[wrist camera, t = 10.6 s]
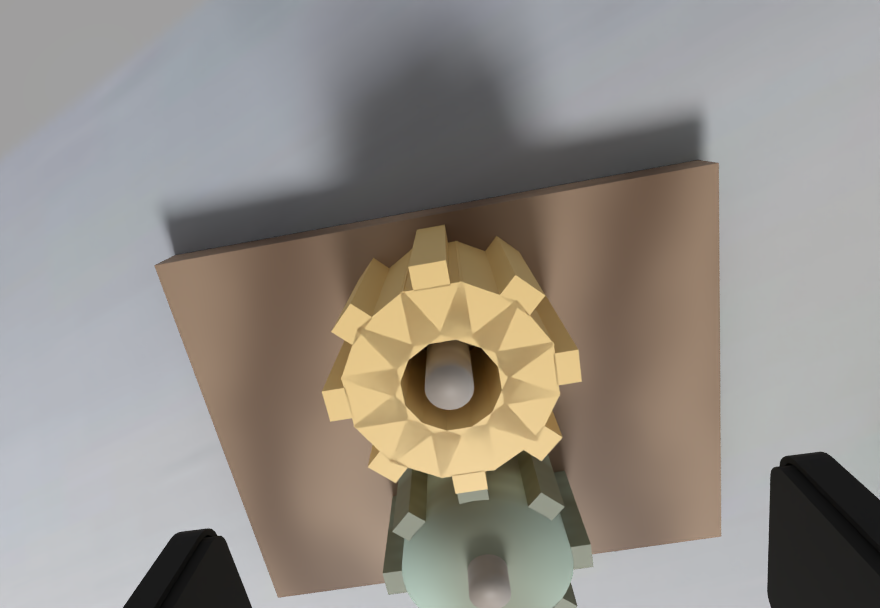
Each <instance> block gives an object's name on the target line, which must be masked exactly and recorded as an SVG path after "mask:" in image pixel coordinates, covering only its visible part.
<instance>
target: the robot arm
mask: <svg viewBox="0 0 880 608" xmlns="http://www.w3.org/2000/svg"><path fill="white" fill-rule="evenodd" d="M767 592H768V598H769V602H770V605H771V608H880V500H879V499H878V498H877V497H876V496H875V495H874V494H873V493H871V492H870V491H869V490H868V489H867V488H866V487H865V486H864V485H863V484H861V483H860V482H859V481H858V480H857V479H856V478H855V477H854V476H853V475H851V474H850V473H849V472H848V471H847V470H846V469H845V468H844V467H843V466H841V465H840V464H839V463H838V462H837V461H836V460H835V459H834V458H832V457H831V456H830V455H828V454H827V453H824V452H815V453H807V454H799V455H791V456H785V457H783V458H782V459H781V461H780V467H774V468H773V469H772V470H771V477H770V514H769V550H768V587H767ZM123 608H252V606H251V604H250V601H249V599H248V596H247V594H246V591H245V589H244V586H243V583H242V581H241V578H240V576H239V573H238V571H237V568H236V566H235V563H234V560H233V558H232V555H231V553H230V550H229V548H228V545H227V543H226V541H225V539H224V538H223V537H222V536H217V534H216V532H215V531H214V530H212V529H200V530H192V531H184V532H179V533H177V534H175V535H174V536H173V537H172V538H171V539H170V541H169V542H168V543H167V545H166V546H165V548H164V549H163V551H162V552H161V554H160V555H159V556H158V558H157V559H156V561H155V562H154V564H153V565H152V567H151V568H150V569H149V571H148V572H147V574H146V575H145V577H144V578H143V580H142V581H141V582H140V584H139V585H138V587H137V588H136V590H135V591H134V592H133V594H132V595H131V597H130V598H129V600H128V601H127V603H126V604H125V605H124V607H123Z"/></svg>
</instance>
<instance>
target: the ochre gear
mask: <svg viewBox="0 0 880 608" xmlns="http://www.w3.org/2000/svg"><path fill="white" fill-rule="evenodd" d="M331 332H332V333H334V334H335V335H337V336H339V337H340V338H342V339H343V340H344V343H343V345H342V347H341V349H340V352H339V354H338V356H337V358H336V361H335V363H334V365H333V367H332V369H331V372H330V374H329V376H328V378H327V381H326V383H325V385H324V387H323V390H322V394H323V398H324V401H325V405H326V408H327V412H328V415H329V419H330V422H331V421H338V420H344V419H350V418H352V420H353V423H354V427H355V428H356V429H357V430H358V431H359V432H360V433H361V434H362V435H363V436H364V437H365V438H366V439H367V440H368V441H370V442H371V443H372V444H373V445H372V450H371V454H370V459H369V464H368V468H370V469H372V470H373V471H375V472H377V473H379V474H381V475H382V476H384V477H386V478H388V479H389V480H391V481H393V482H395V483H396V482H397V481H398V479H399V478H400V477H401V476H402V474H403V473H404V472H405V471H406V469H407V468H411V469H414V470H417V471H421V472H424V473H427V474H431V475H434V476H437V477H440V478H445V477H451V476H452V479H453V484H454V488H455V493H456V494H458V493H465V492H472V491H478V490H485V489H488V486H487V478H486V471H491V470H493V471H494V470H496V469H497V468H498V467H500V466H501V465H503V464H504V463H506V462H507V461H508V460H510V459H511V458H513V457H514V456H516V455H517V454H519V453H520V452H521V451H523V450H524V451H526V452H528V453H529V454H531V455H532V456H534V457H536V458H537V459H539V460H541V461H542V460H543V459H544V458H545V457H546V456H547V454H548V453H549V452H550V451H551V450H552V449H553V448H554V447H555V445H556V444H557V443H558V442H559V441H560V440H561V439H562V438H563V437H562V434H561V432H560V429H559V426H558V424H557V421H556V419H555V416H554V413H553V411H552V410H553V408H554V406H555V404H556V402H557V400H558V398H559V396H560V391H559V385H564V384H570V383H576V382H582V379H581V369H580V360H579V350H578V348H577V346H576V345H575V343H574V341H573V340H572V338H571V336H570V335H569V333H568V332H567V330H566V328H565V327H564V325H563V323H562V322H561V320H560V318H559V317H558V315H557V313H556V312H555V310H554V308H553V307H552V305H551V303H550V302H549V300H548V298H547V297H546V295H545V294H544V292H543V291H542V289H541V287H540V286H539V284H538V282H537V281H536V279H535V277H534V276H533V274H532V272H531V271H530V269H529V267H528V266H527V264H526V262H525V261H524V259H523V257H522V256H521V254H520V252H519V251H517V250H516V249H515V248H513V247H512V246H510V245H509V244H507V243H506V242H505V241H503V240H502V239H500V238H499V237H497V236H496V237H495V239H494V240H493V241H492V243H491V244H490V245H489V247H488V248H487V249H486V251H483V250H480V249H477V248H474V247H472V246H469V245H466V244H463V243H460V242H458V241H454V242H449V243H448V240H447V234H446V229H445V225H440V226H435V227H429V228H424V229H418V230H417V231H416V235H415V240H414V244H413V248H412V249H411V250H410V251H409V252H408V253H407V254H406V255H404V256H403V257H402V258H401V259H400V260H398V261H397V262H396V263H395V264H394V265H392V266H391V267H390V268H388V267H387V266H385V265H384V264H382V263H381V262H379V261H377V260H376V259H374V258H373V259H372V261H371V262H370V264H369V265H368V267H367V268H366V270H365V271H364V273H363V274H362V276H361V277H360V279H359V280H358V282H357V284H356V286H355V288H354V290H353V291H352V293H351V295H350V297H349V299H348V301H347V303H346V305H345V307H344V309H343V310H342V312H341V314H340V316H339V318H338V320H337V322H336V324H335V326H334V328H333V329H332V331H331ZM450 340H459V341H462V342H465V343H468V344H471V345H474V346H476V347H474V348H473V349H472V350H470V358H471V366H472V374H473V382H474V392H473V396H472V397H471V399H470V401H469V402H468V403H467V404H465V405H464V406H462V407H460V408H458V409H454V410H445V409H441V408H438V407H436V406H435V405H433V404H432V403H431V402H430V401H429V400H428V398H427V396H426V393H425V375H426V359H427V351H426V350H425V349H424V348H425V347H426V346H427V345H428V344H432V343H438V342H444V341H450Z"/></svg>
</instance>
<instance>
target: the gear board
mask: <svg viewBox="0 0 880 608" xmlns="http://www.w3.org/2000/svg"><path fill="white" fill-rule="evenodd" d="M440 225H445V229H446V234H447V240H448V243H449V242H454V241H458V242H460V243H463V244H466V245H469V246H472V247H474V248H477V249H480V250H483V251H486V249H487V248H488V247H489V245H490V244H491V243H492V241H493V240H494V239H495V237H496V236H497V237H499V238H500V239H502V240H503V241H505V242H506V243H507V244H509V245H510V246H512V247H513V248H515V249H516V250H517V251H519V252H520V254H521V256H522V257H523V259H524V261H525V262H526V264H527V266H528V267H529V269H530V271H531V272H532V274H533V276H534V277H535V279H536V281H537V282H538V284H539V286H540V287H541V289H542V291H543V292H544V294H545V295H546V297H547V298H548V300H549V302H550V303H551V305H552V307H553V308H554V310H555V312H556V313H557V315H558V317H559V318H560V320H561V322H562V323H563V325H564V327H565V328H566V330H567V332H568V333H569V335H570V336H571V338H572V340H573V341H574V343H575V345H576V346H577V348H578V350H579V360H580V369H581V379H582V382H576V383H570V384H564V385H559V391H560V396H559V398H558V400H557V402H556V404H555V406H554V408H553V410H552V411H553V413H554V416H555V419H556V421H557V424H558V426H559V429H560V432H561V434H562V437H563V438H562V439H561V440H560V441H559V442H558V443H557V444H556V445H555V447H554V448H553V449H552V450H551V451H550V452H549V453H548V454H547V456H546V457H545V458H544V459H543V460H542V461H541V460H539V459H537V458H536V457H534V456H532V455H531V454H529V453H528V452H526V451H524V450H523V451H521V452H520V453H519V454H517V455H516V456H514V457H513V458H511V459H510V460H508V461H507V462H506V463H504V464H503V465H501V466H500V467H498V468H497V469H496V470H494V471H493V470H491V471H486V478H487V486H488V489H485V490H478V491H472V492H465V493H458V494H456V493H455V488H454V484H453V479H452V476H451V477H445V478H440V477H437V476H434V475H431V474H427V473H424V472H421V471H417V470H414V469H411V468H407V469H406V471H405V472H404V473H403V474H402V476H401V477H400V478H399V479H398V481H397V482H396V483H395V482H393V481H391V480H389V479H388V478H386V477H384V476H382V475H381V474H379V473H377V472H375V471H373V470H372V469H370V468H368V464H369V459H370V454H371V450H372V445H373V444H372V443H371V442H370V441H368V440H367V439H366V438H365V437H364V436H363V435H362V434H361V433H360V432H359V431H358V430H357V429H356V428H355V427H354V423H353V420H352V418H350V419H344V420H338V421H331V422H330V419H329V415H328V412H327V408H326V405H325V401H324V398H323V394H322V390H323V387H324V385H325V383H326V381H327V378H328V376H329V374H330V372H331V369H332V367H333V365H334V363H335V361H336V358H337V356H338V354H339V352H340V349H341V347H342V345H343V343H344V340H343V339H342V338H340V337H339V336H337V335H335V334H334V333H332V332H331V331H332V329H333V328H334V326H335V324H336V322H337V320H338V318H339V316H340V314H341V312H342V310H343V309H344V307H345V305H346V303H347V301H348V299H349V297H350V295H351V293H352V291H353V290H354V288H355V286H356V284H357V282H358V280H359V279H360V277H361V276H362V274H363V273H364V271H365V270H366V268H367V267H368V265H369V264H370V262H371V261H372V259H373V258H374V259H376V260H377V261H379V262H381V263H382V264H384V265H385V266H387V267H388V268H390V267H391V266H392V265H394V264H395V263H396V262H397V261H398V260H400V259H401V258H402V257H403V256H404V255H406V254H407V253H408V252H409V251H410V250H411V249H412V248H413V244H414V240H415V235H416V231H417V230H418V229H424V228H429V227H435V226H440ZM154 266H155V268H156V271H157V274H158V276H159V279H160V282H161V285H162V287H163V290H164V293H165V295H166V298H167V301H168V303H169V306H170V309H171V311H172V314H173V317H174V319H175V322H176V325H177V327H178V330H179V333H180V336H181V338H182V341H183V344H184V346H185V349H186V352H187V354H188V357H189V360H190V362H191V365H192V368H193V370H194V373H195V376H196V378H197V381H198V384H199V387H200V389H201V392H202V395H203V397H204V400H205V403H206V405H207V408H208V411H209V413H210V416H211V419H212V421H213V424H214V427H215V429H216V432H217V435H218V437H219V440H220V443H221V446H222V448H223V451H224V454H225V456H226V459H227V462H228V464H229V467H230V470H231V472H232V475H233V478H234V480H235V483H236V486H237V488H238V491H239V494H240V497H241V499H242V502H243V505H244V507H245V510H246V513H247V515H248V518H249V521H250V523H251V526H252V529H253V531H254V534H255V537H256V539H257V542H258V545H259V548H260V550H261V553H262V556H263V558H264V561H265V564H266V566H267V569H268V572H269V574H270V577H271V580H272V582H273V585H274V588H275V590H276V593H277V596H278V598H279V597H286V596H294V595H301V594H308V593H315V592H323V591H330V590H337V589H344V588H351V587H359V586H366V585H373V584H380V583H385V584H386V588H387V591H388V595H391V594H398V593H405V592H408V594H409V596H410V597H411V599H412V600H413V602H414V603H415V604H416V605H417V606H418V608H576V607H577V603H576V599H575V596H574V592H573V589H572V585H571V579H572V576H573V569H581V568H588V567H593V559H592V554H597V553H605V552H612V551H619V550H626V549H633V548H641V547H648V546H655V545H662V544H670V543H677V542H684V541H691V540H699V539H706V538H713V537H720V536H721V451H720V295H719V163H715V162H708V161H701V160H696V161H690V162H685V163H679V164H674V165H668V166H663V167H657V168H652V169H646V170H641V171H635V172H630V173H624V174H619V175H613V176H608V177H602V178H597V179H591V180H586V181H580V182H575V183H569V184H564V185H558V186H553V187H547V188H542V189H537V190H531V191H526V192H520V193H515V194H509V195H504V196H498V197H493V198H487V199H482V200H476V201H471V202H465V203H460V204H454V205H449V206H443V207H438V208H432V209H427V210H421V211H416V212H410V213H405V214H399V215H394V216H388V217H383V218H377V219H372V220H366V221H361V222H355V223H350V224H344V225H339V226H333V227H328V228H322V229H317V230H312V231H306V232H301V233H295V234H290V235H284V236H279V237H273V238H268V239H262V240H257V241H251V242H246V243H240V244H235V245H229V246H224V247H218V248H213V249H207V250H202V251H196V252H191V253H185V254H180V255H174V256H172V257H170V258H168V259H166V260H164V261H162V262H160V263H158V264H156V265H154ZM474 347H476V346H474V345H471V344H468V343H465V342H462V341H459V340H450V341H444V342H438V343H432V344H428V345H427V346H426V347H425V348H424V349H425V350H426V351H427V359H426V375H425V393H426V396H427V398H428V400H429V401H430V402H431V403H432V404H433V405H435V406H436V407H438V408H441V409H445V410H454V409H458V408H460V407H462V406H464V405H465V404H467V403H468V402H469V401H470V399H471V397H472V396H473V392H474V382H473V374H472V366H471V358H470V350H472V349H473V348H474Z"/></svg>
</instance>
